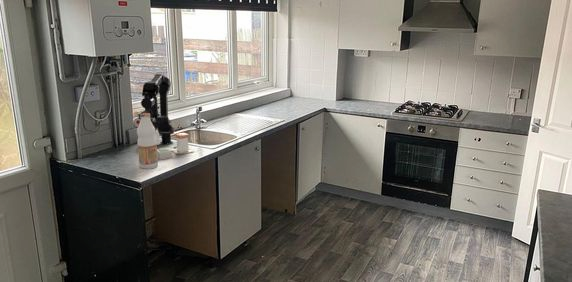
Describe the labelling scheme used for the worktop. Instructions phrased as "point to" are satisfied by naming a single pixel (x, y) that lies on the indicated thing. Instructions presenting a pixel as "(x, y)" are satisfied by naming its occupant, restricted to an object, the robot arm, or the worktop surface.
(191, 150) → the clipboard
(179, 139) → the white pill bottle
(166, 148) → the button
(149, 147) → the fruit juice
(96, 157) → the worktop surface
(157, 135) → the mug
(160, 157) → the button base
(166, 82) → the robot arm
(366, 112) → the worktop surface
